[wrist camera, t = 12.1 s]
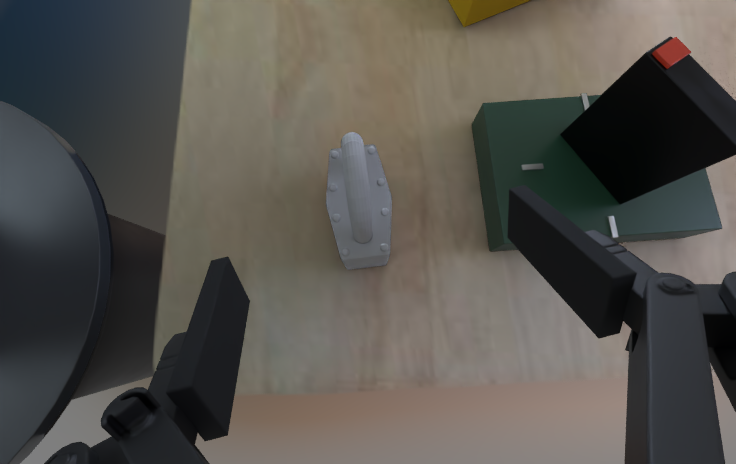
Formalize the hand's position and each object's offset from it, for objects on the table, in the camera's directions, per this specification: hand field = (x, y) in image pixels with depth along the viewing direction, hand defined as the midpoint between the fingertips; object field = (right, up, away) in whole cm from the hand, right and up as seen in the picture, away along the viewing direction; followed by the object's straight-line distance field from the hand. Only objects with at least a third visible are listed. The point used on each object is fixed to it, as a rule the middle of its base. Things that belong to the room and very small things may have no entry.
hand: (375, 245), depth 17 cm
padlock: (-1, +1, +10) cm, 10 cm away
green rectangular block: (+15, +5, +10) cm, 19 cm away
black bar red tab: (+15, +5, +7) cm, 17 cm away
